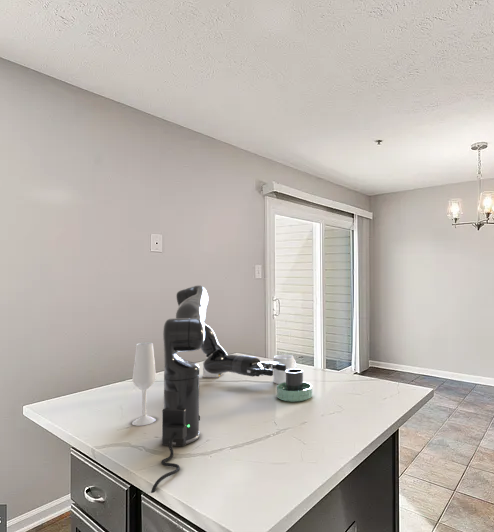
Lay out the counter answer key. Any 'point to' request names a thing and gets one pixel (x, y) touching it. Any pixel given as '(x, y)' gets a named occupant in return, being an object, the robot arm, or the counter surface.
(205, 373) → the medicine bottle
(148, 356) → the champagne flute
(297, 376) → the cup
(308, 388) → the bowl
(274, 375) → the mug
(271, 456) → the counter surface
